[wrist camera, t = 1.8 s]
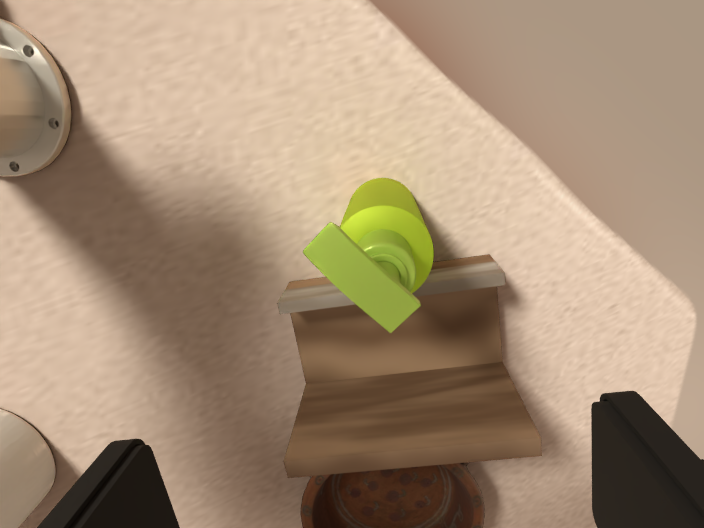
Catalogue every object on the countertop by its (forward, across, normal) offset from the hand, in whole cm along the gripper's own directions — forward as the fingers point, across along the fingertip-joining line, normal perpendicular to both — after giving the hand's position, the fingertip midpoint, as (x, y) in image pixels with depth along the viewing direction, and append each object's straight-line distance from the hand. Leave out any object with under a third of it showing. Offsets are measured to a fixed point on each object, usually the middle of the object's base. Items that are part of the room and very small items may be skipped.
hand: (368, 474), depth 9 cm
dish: (+31, +3, +29) cm, 42 cm away
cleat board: (+30, 0, +11) cm, 32 cm away
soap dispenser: (+30, 0, 0) cm, 30 cm away
